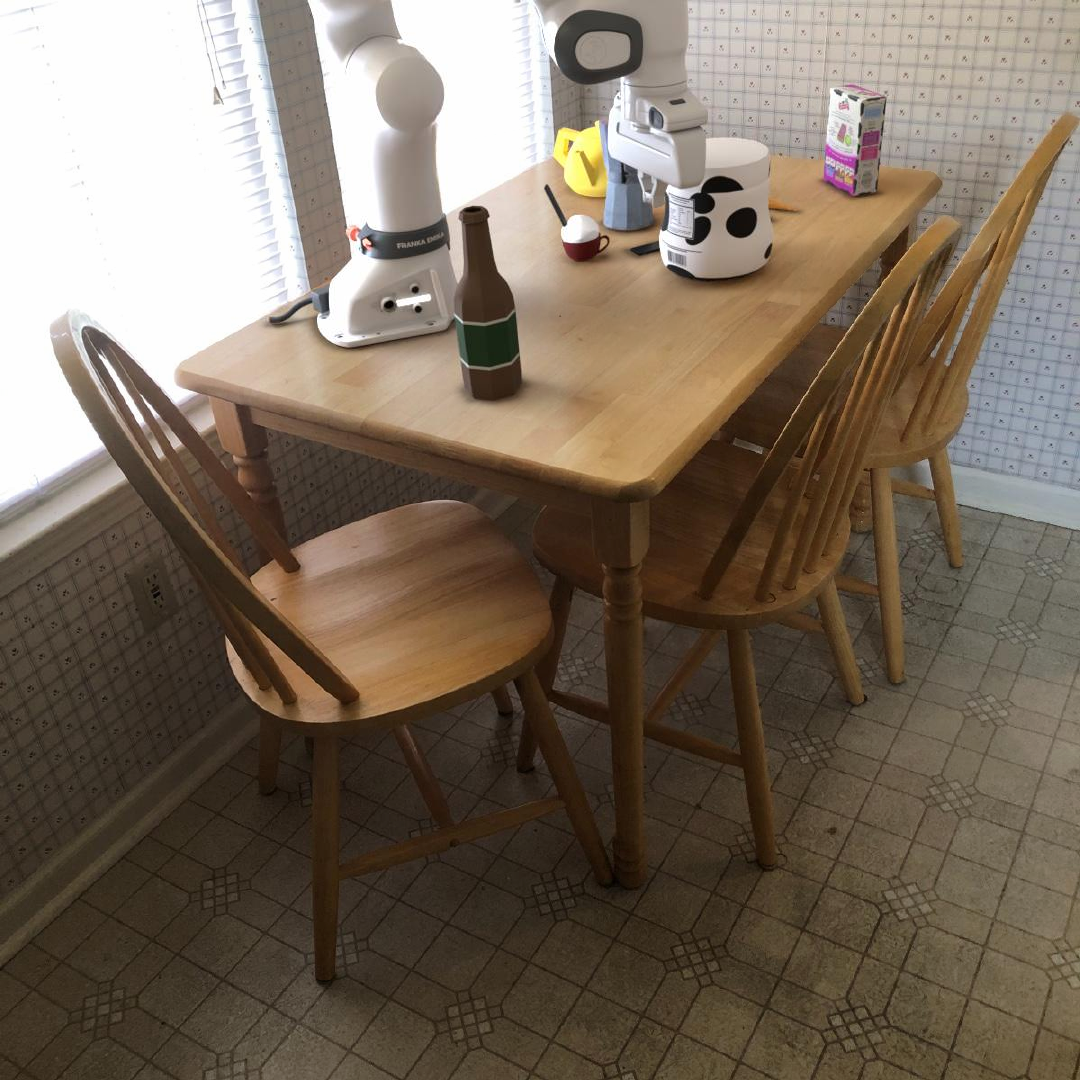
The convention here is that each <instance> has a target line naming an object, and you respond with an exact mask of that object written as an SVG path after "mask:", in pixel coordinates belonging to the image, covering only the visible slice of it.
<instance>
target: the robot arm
mask: <svg viewBox="0 0 1080 1080" xmlns="http://www.w3.org/2000/svg"><path fill="white" fill-rule="evenodd" d="M530 1H531V3H532V5H533V6H534V8H535V11H536V13H537V18H538V21H539V30H540V33H541V34H540V36H541V39H542V43H543V45H544V48H545V49H546V52H547V53H548V55H549V56H550V58H552V60H553V61H554V63H555V64H556V66H557V67H558V69H559V70H560V72H561V73H562V74H563V75H564V76H565V77H566V78H567V79H568V80H570V81H571V82H574V83H576V84H578V85H583V86H584V85H585V86H591V85H597V84H601V83H606V82H609V81H613V80H617V79H620V90H619V92H618V93H617V94H616V96H615V97H614V100H613V107H612V108H611V109H610V112H609V116H610V118H609V131H608V150H609V153H610V156H611V157H612V158H614V159H616V160H618V161H620V162H622V163H624V164H627V165H629V166H631V167H633V168H635V169H637V170H638V178H639V181H640V184H641V187H642V190H643V201H644V202H645V203H647V204H649V205H651V206H652V208H661V207H663V206H665V192H666V190H667V187H668V185H671V186H673V187H675V188H677V189H680V190H682V189H688V188H693V187H697V186H699V185H700V184H701V182H702V181H703V179H704V175H705V164H706V138H707V137H706V132H705V130H704V128H703V126H705V125H707V124H708V121H709V111H708V108H707V107H706V106H705V105H704V104H703V103H702V102H701V101H700V100H699V99H698V97H696V96H695V94H694V92H693V91H692V90H691V88H689V87H688V79H689V78H688V71H687V67H686V66H687V65H686V53H687V50H688V47H689V6H688V5H689V4H688V0H530ZM307 3H308V4H309V7H310V10H311V14H312V17H313V19H314V24H315V26H316V30H317V34H318V38H319V41H320V44H321V48H322V51H323V55H324V58H325V60H326V63H327V67H328V70H329V72H330V77H331V80H332V83H333V86H334V87H335V89H336V92H338V95H339V96H340V98H341V99H342V100H343V101H344V102H345V103H346V104H347V105H348V106H349V107H351V108H353V110H355V111H356V113H357V116H358V119H359V123H360V133H361V135H360V137H361V150H360V151H361V154H360V155H361V156H360V163H359V167H358V175H359V180H360V186H361V192H362V199H363V204H364V209H365V215H366V222H365V223H364V226H363V227H362V228H359V226H357V225H356V224H350V225H349V226H347V228H346V229H345V231H346V232H345V234H346V236H347V237H348V239H350V240H351V241H352V242H357V248H358V252H357V253H356V254H355V255H354V256H353V257H352V258H351V259H350V260H349V262H348V263H347V264H346V265H345V266H344V267H343V268H342V269H341V270H340V271H339V272H338V273H337V275H335V276H334V277H333V278H332V280H331V282H330V283H329V284H327V285H324V286H321V287H319V288H316V289H313V290H310V296H309V297H306V298H304V299H301V300H300V301H298V302H297V303H295V304H294V305H292V306H291V307H290V308H289V309H288V310H287V311H286V312H285V313H283V314H281V315H278V316H269V317H268V320H269V321H268V322H269V324H281V323H283V322H285V321H287V320H289V319H290V318H292V316H293V315H295V314H296V313H297V312H298V311H299V310H300V309H302V308H305V307H306V306H308V305H312V307H313V310H314V311H316V312H318V315H317V317H316V318H317V319H316V321H317V328H318V330H319V332H320V333H321V334H322V336H323V337H324V338H325V339H326V340H327V341H329V342H331V343H332V344H334V345H337V346H340V347H343V348H347V349H348V348H349V349H350V348H357V347H361V346H367V345H373V344H379V343H384V342H389V341H393V340H400V339H405V338H411V337H417V336H421V335H422V336H423V335H427V334H433V333H438V332H443V331H445V330H447V329H448V328H449V326H451V322H452V321H453V320H455V315H454V296H455V291H456V287H457V285H458V283H459V282H458V280H457V278H456V274H455V269H454V267H453V263H452V259H451V254H450V253H451V252H450V251H451V234H450V228H449V223H448V219H447V214H446V213H445V212H444V210H443V203H442V196H441V188H440V180H439V172H438V155H437V151H438V132H439V115H440V114H441V111H442V109H443V106H444V101H445V86H444V83H443V79H442V76H441V75H440V73H439V71H438V69H437V68H436V66H435V65H434V63H433V62H432V61H431V59H430V58H429V56H427V54H426V53H424V52H423V51H422V50H421V49H419V48H418V47H416V46H414V45H412V44H409V43H407V42H406V40H405V38H404V37H403V35H402V33H401V31H400V28H399V26H398V22H397V18H396V13H395V8H394V3H393V0H307Z"/></svg>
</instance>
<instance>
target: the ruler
mask: <svg viewBox="0 0 1080 1080" xmlns="http://www.w3.org/2000/svg"><path fill="white" fill-rule="evenodd" d="M770 219H771V221H772V217H770ZM629 251H630V252H632V253H634V254H636V255H637V256H639V257H640V256H645V255H649V254H652V253H656V252H660V243H659V240H656V241H652V242H649V243H645V244H642V245H641V244H640V245H637V246H634V247H630V248H629Z"/></svg>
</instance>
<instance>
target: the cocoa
mask: <svg viewBox="0 0 1080 1080" xmlns="http://www.w3.org/2000/svg"><path fill="white" fill-rule="evenodd" d="M543 190H544V192H545V194H546V196H547V198H548V200H549V202H550V203H551V206H552V207H553V209H554V211H555V214H556V215H557V217H558V219H559V221H560V223H561V225H562V227H561V233H560V235H561V242H562V245H563V248H564V251H565V254H566V255H567V256H568V257H569V258H570V259H571V260H573V261H576V262H587V261H591V260H592V259H594V258H595V257H596V256H597V255H599V254H601V253H603V251H605V250H606V249H607V248H608V247H609V245H610V243H611V242H610V240H611V239H610V237H609V236H608V235H606V234H604V235H601V232H600V227H599V224H598V223H597V222H596V221H595V220H594V219H593V218H592V217H591V216H588V215H585V214H576V215H573V216H571V217H570V218H569V219H568V221H567V218H566V217H565V214H564V213H563V211H562V209H561V207H560V205H559V203H558V201H557V199H556V197H555V195H554V193H553V191H552V189H551V187H550V185H549V184H548V183H546V184H545V185H544V186H543ZM602 239H606V241H607V242H606V244H605V245H604V246H603V247H602V248H601V245H602V243H601V242H602Z"/></svg>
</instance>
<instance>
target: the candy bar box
mask: <svg viewBox="0 0 1080 1080" xmlns="http://www.w3.org/2000/svg"><path fill="white" fill-rule="evenodd" d="M887 99H888V98H887V96H885V95H882V94H880V93H877V92H874V91H872V90H869V89H867V88H863V87H861V86H858V85H856V84H846V85H839V86H834V87H830V88H829V100H828V101H829V102H828V110H827V111H828V113H827V124H826V125H827V126H826V140H825V151H824V167H823V179H822V180H823V181H824V182H826V183H827V184H829V185H831V186H833V187H835V188H837V189H838V190H841V191H842V192H844V193H846V194H848V195H850V196H852V197H861V196H868V195H873V194H876V193H878V186H879V175H880V174H879V173H880V164H881V155H882V147H883V146H882V144H883V137H884V127H885V117H886V116H885V115H886V109H887Z"/></svg>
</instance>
